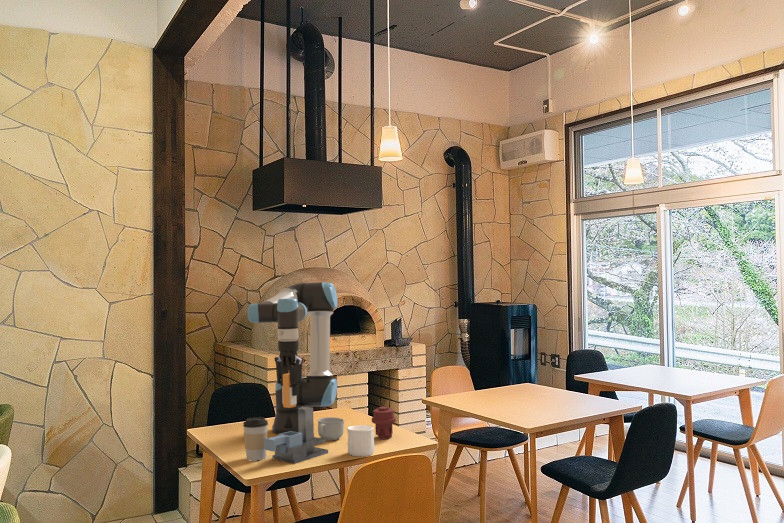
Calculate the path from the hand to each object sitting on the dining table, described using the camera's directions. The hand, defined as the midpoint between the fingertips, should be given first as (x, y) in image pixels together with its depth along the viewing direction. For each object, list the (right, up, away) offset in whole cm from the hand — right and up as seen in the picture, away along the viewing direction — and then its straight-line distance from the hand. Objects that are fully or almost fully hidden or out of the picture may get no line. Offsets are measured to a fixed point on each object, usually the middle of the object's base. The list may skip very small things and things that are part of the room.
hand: (289, 403), depth 235 cm
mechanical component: (+35, -20, +27) cm, 48 cm away
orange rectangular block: (0, -1, 0) cm, 1 cm away
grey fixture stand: (+4, -20, +3) cm, 21 cm away
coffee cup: (-12, -21, +1) cm, 24 cm away
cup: (+26, -20, +4) cm, 33 cm away
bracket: (-2, -17, -3) cm, 18 cm away
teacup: (+12, -21, +26) cm, 36 cm away
